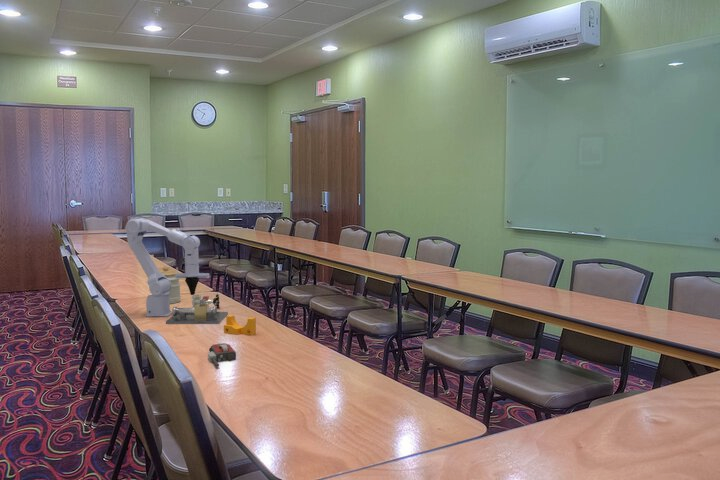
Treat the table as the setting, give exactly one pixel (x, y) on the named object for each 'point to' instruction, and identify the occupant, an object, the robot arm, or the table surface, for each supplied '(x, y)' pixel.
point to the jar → (175, 289)
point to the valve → (197, 301)
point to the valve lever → (204, 300)
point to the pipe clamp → (235, 328)
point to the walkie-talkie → (221, 353)
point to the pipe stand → (196, 315)
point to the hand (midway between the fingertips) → (192, 294)
